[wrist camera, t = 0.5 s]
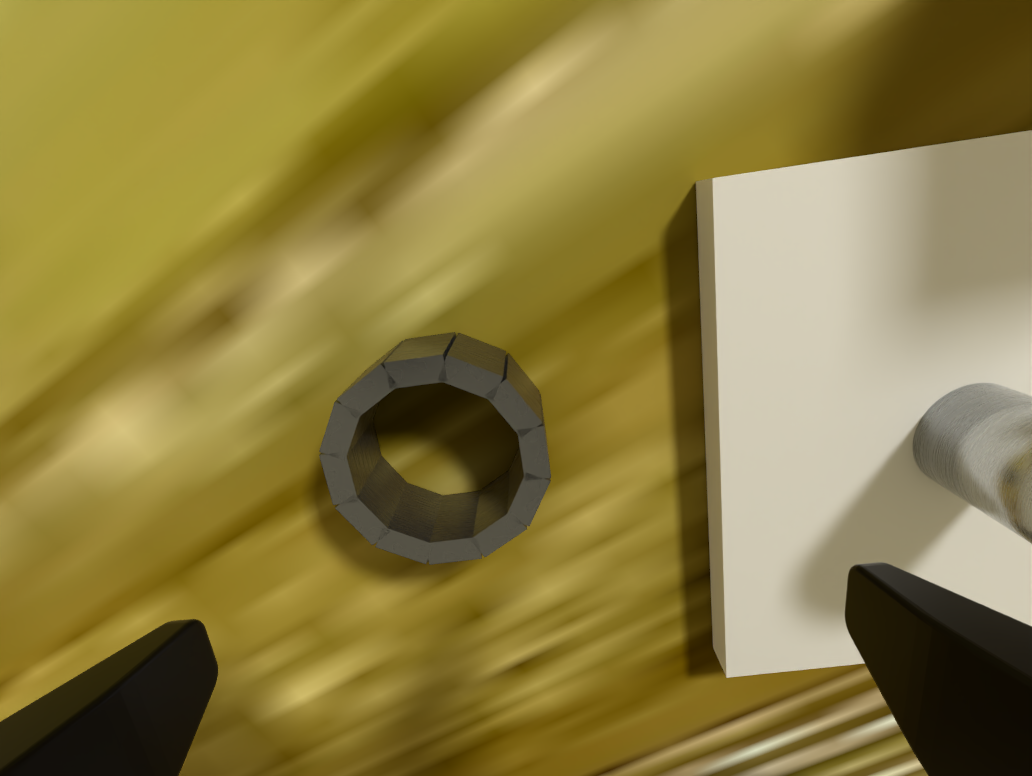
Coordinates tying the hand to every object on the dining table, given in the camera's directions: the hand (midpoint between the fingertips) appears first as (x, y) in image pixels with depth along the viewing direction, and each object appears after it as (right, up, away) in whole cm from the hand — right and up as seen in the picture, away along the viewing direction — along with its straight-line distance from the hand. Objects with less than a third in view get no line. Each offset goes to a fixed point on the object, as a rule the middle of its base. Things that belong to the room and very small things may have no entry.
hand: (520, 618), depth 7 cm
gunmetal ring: (-2, +2, +11) cm, 12 cm away
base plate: (+15, +2, +11) cm, 19 cm away
